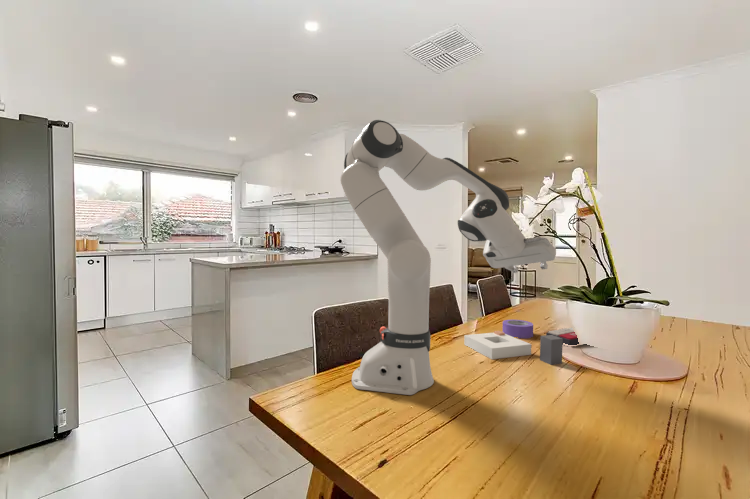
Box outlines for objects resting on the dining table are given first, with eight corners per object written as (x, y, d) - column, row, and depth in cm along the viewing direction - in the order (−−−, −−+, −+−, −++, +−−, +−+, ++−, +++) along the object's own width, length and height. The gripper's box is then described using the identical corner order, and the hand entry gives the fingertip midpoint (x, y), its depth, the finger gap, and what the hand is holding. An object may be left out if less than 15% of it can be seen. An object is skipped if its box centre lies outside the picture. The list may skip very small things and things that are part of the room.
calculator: (545, 330, 137) (573, 325, 142) (545, 341, 137) (573, 336, 142) (570, 338, 127) (598, 332, 132) (570, 349, 127) (598, 343, 132)
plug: (550, 365, 109) (551, 339, 108) (539, 360, 113) (540, 335, 113) (561, 363, 110) (562, 338, 110) (550, 358, 114) (551, 334, 114)
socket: (491, 359, 113) (492, 346, 113) (464, 344, 128) (464, 333, 128) (531, 354, 118) (531, 341, 118) (500, 341, 133) (500, 329, 133)
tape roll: (513, 339, 136) (513, 326, 136) (496, 331, 148) (497, 319, 148) (539, 338, 139) (539, 325, 139) (521, 330, 150) (521, 318, 150)
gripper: (546, 227, 99) (565, 256, 105) (482, 240, 113) (502, 265, 120) (543, 244, 95) (563, 273, 102) (478, 255, 110) (499, 280, 116)
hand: (530, 269), depth 111 cm, fingers open, 8 cm apart
